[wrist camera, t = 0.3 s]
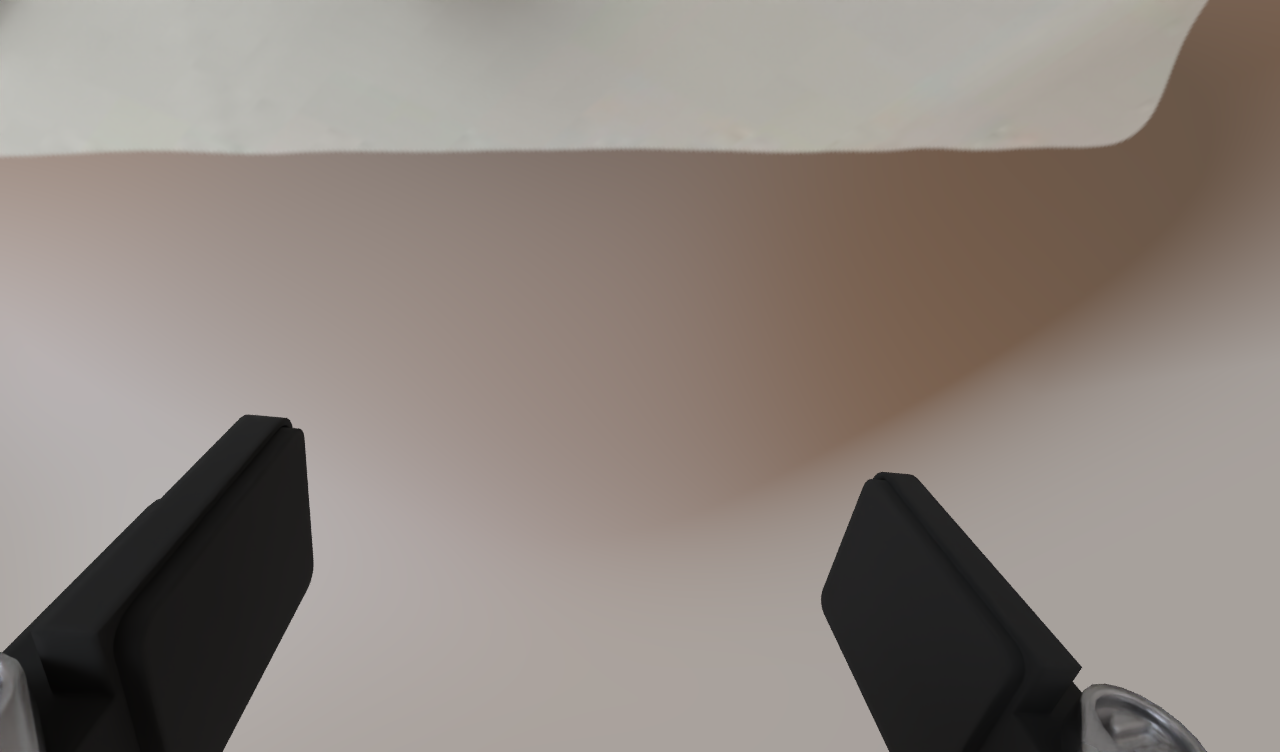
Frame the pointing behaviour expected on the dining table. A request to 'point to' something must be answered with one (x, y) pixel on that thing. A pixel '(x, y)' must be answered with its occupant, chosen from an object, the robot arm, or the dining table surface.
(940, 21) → the dining table surface
